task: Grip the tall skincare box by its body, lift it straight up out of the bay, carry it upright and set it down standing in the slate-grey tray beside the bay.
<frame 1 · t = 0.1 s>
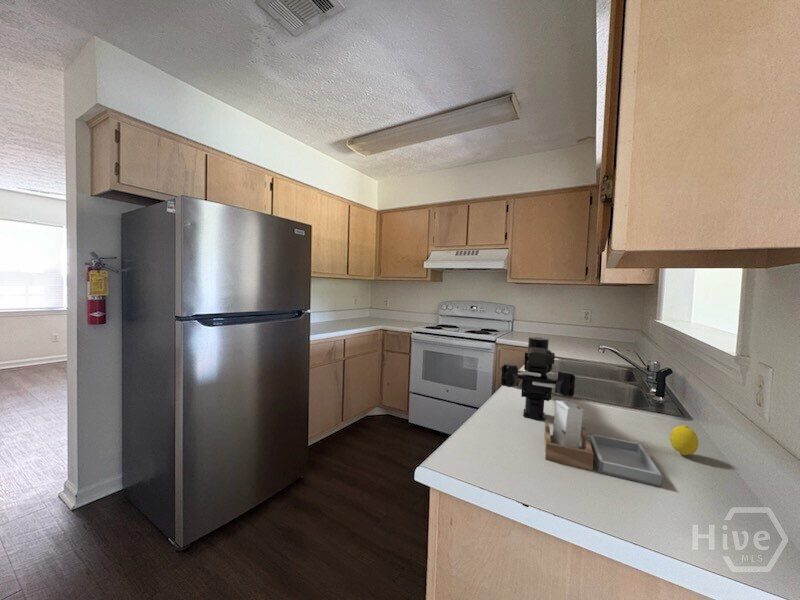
hand: (536, 387, 81), 17 cm above the counter, tool horizontal, fingers open, 9 cm apart
skincare box: (565, 449, 84), resting in bay
lemon: (682, 456, 82), on the counter
bay: (565, 448, 84), on the counter
tray: (620, 462, 78), on the counter
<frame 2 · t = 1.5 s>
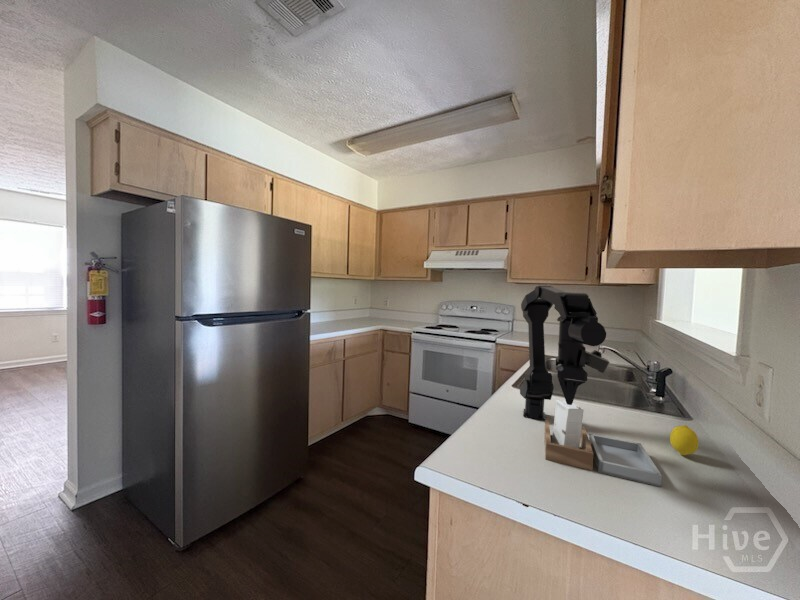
hand: (568, 399, 83), 13 cm above the counter, tool pointing down, fingers open, 9 cm apart
nothing on the counter moved.
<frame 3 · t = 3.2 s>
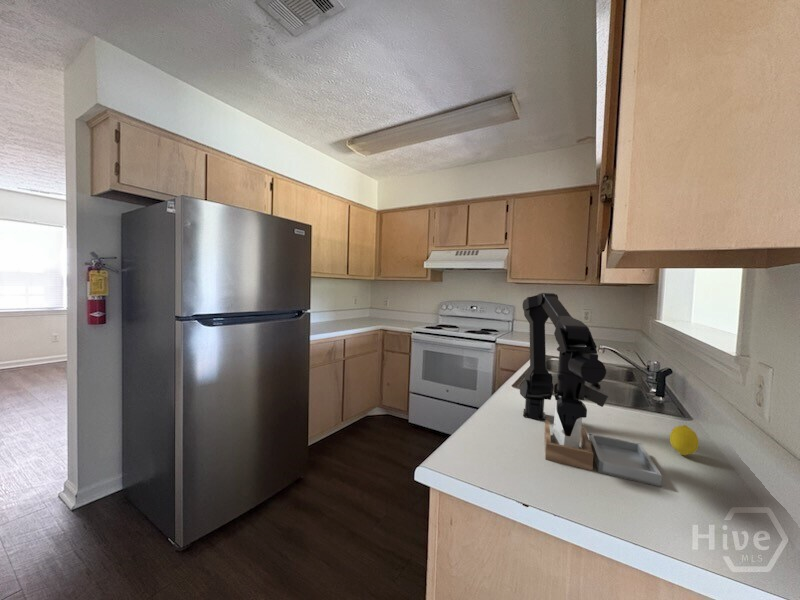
hand: (566, 430, 83), 5 cm above the counter, tool pointing down, fingers closed on skincare box, 7 cm apart
skincare box: (565, 449, 84), resting in bay, touching gripper
everything else where it was.
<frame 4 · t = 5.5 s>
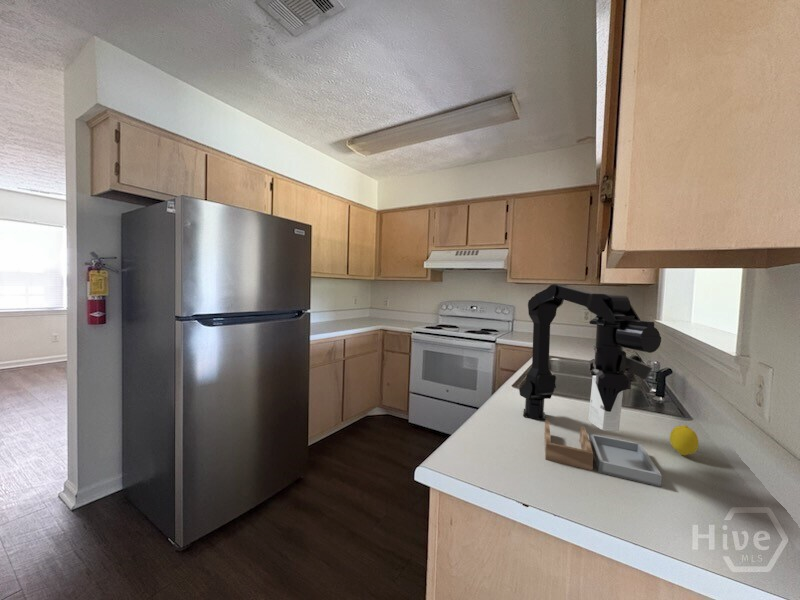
hand: (605, 406, 79), 13 cm above the counter, tool pointing down, fingers closed on skincare box, 7 cm apart
skincare box: (604, 426, 79), point 8 cm above the counter, touching gripper
everything else where it was.
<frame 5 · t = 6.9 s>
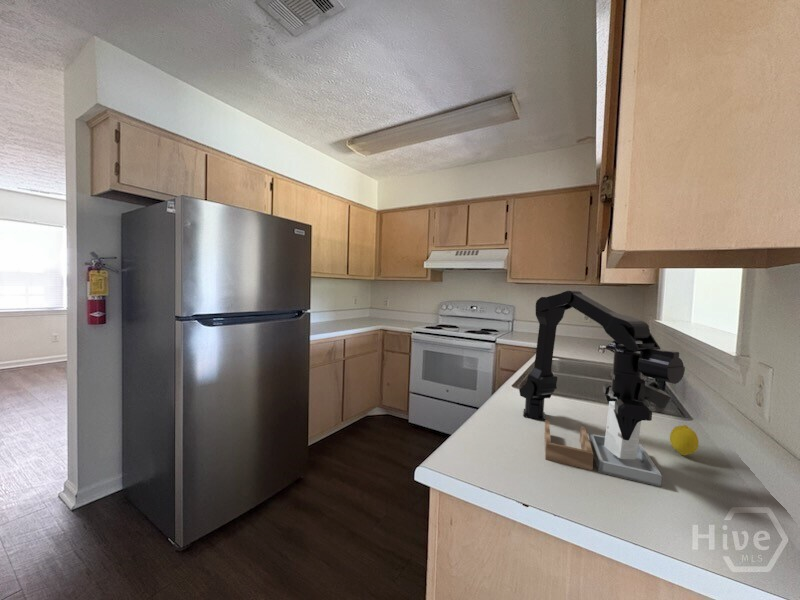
hand: (622, 433, 78), 7 cm above the counter, tool pointing down, fingers closed on skincare box, 7 cm apart
skincare box: (620, 454, 78), point 2 cm above the counter, touching gripper
everything else where it was.
when the fingers open (7 cm above the counter, at t = 7.9 s): skincare box drops 1 cm, resting on tray.
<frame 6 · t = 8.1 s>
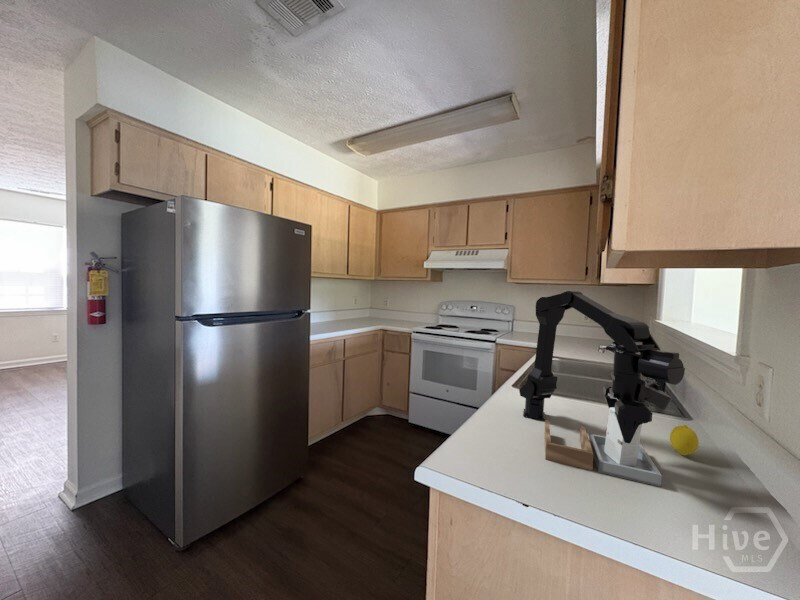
hand: (622, 434, 78), 7 cm above the counter, tool pointing down, fingers open, 9 cm apart
skincare box: (620, 460, 78), point 1 cm above the counter, touching tray
everything else where it was.
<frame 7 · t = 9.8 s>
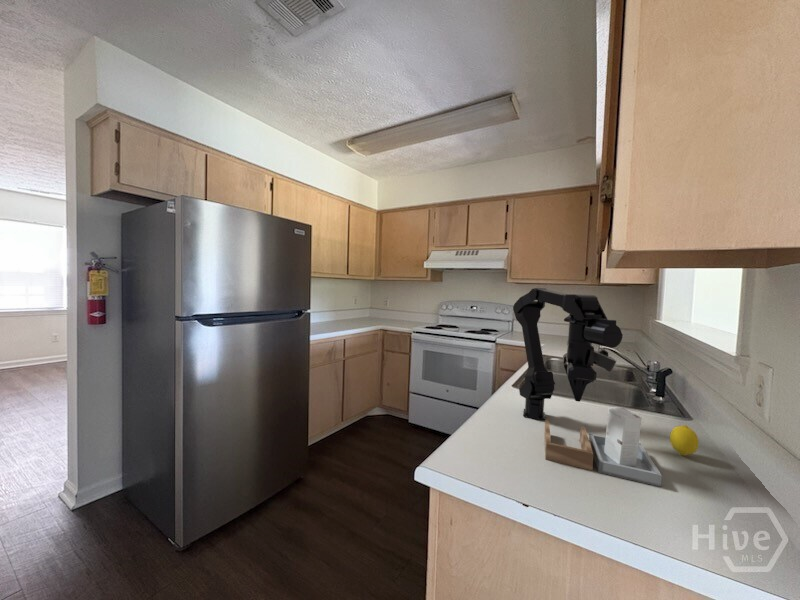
hand: (575, 395, 88), 13 cm above the counter, tool pointing down, fingers open, 9 cm apart
nothing on the counter moved.
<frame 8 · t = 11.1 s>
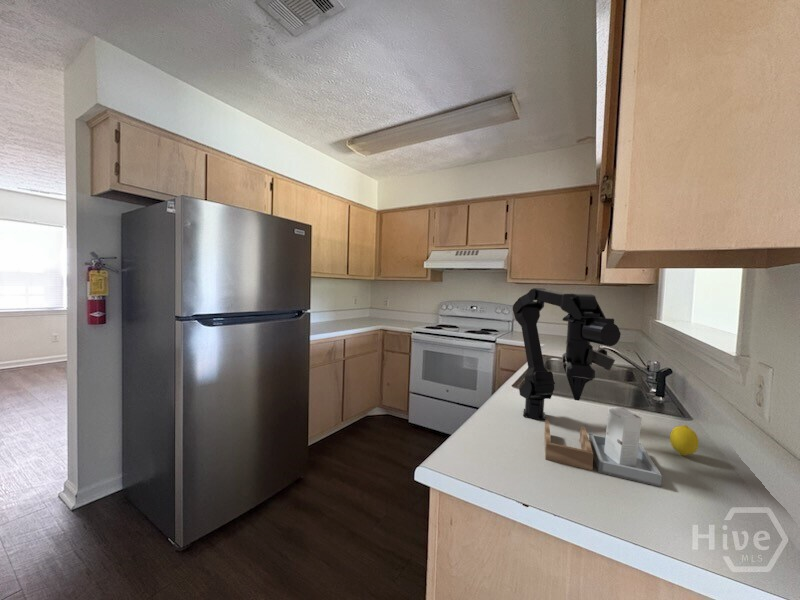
hand: (574, 394, 88), 13 cm above the counter, tool pointing down, fingers open, 9 cm apart
nothing on the counter moved.
at the end: skincare box inside the target area on the tray (0.0 cm from its centre), point 0.4 cm above the tray's base; skincare box tilted 0°; the gripper is holding nothing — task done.
